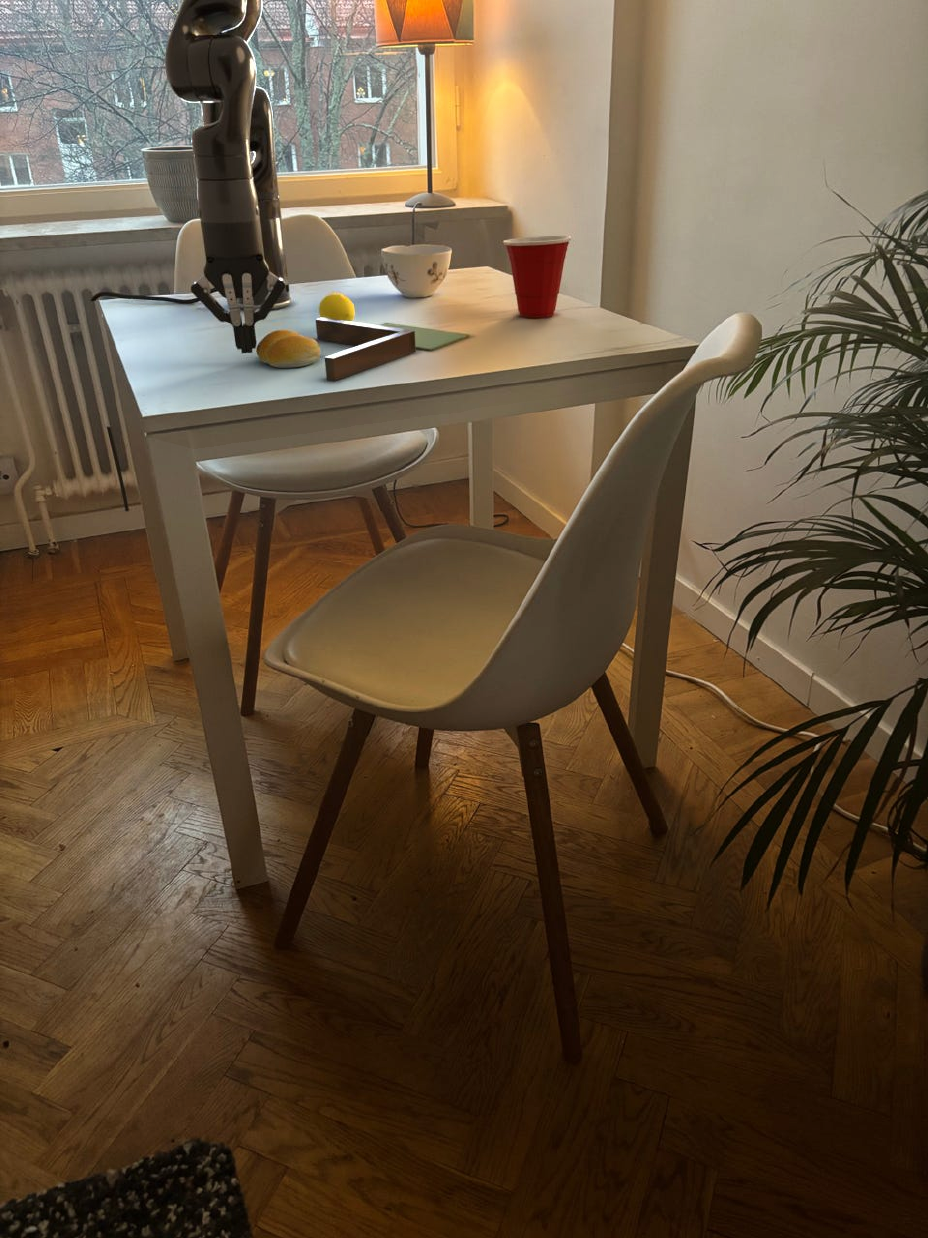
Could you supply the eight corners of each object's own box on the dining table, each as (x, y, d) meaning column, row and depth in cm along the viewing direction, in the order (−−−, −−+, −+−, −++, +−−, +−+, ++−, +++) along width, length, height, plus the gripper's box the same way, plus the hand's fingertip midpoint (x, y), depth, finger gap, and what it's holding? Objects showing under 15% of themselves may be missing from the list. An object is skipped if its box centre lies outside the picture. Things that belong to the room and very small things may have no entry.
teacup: (467, 294, 169) (466, 247, 165) (413, 304, 162) (410, 255, 158) (414, 283, 179) (412, 238, 175) (361, 293, 172) (358, 246, 168)
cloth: (345, 337, 142) (345, 335, 142) (386, 324, 149) (386, 322, 149) (430, 350, 134) (430, 348, 134) (469, 336, 141) (469, 334, 141)
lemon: (364, 329, 146) (362, 293, 144) (335, 335, 143) (332, 298, 141) (339, 322, 151) (336, 287, 148) (311, 327, 148) (307, 292, 145)
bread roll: (282, 372, 125) (279, 342, 123) (249, 360, 131) (245, 331, 129) (334, 361, 130) (331, 332, 128) (299, 349, 136) (296, 321, 134)
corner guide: (239, 363, 130) (236, 341, 128) (323, 337, 142) (322, 317, 141) (334, 381, 121) (332, 358, 120) (415, 351, 134) (414, 330, 132)
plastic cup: (542, 304, 160) (544, 229, 154) (582, 315, 152) (585, 236, 146) (489, 313, 155) (489, 235, 149) (528, 324, 147) (529, 243, 141)
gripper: (281, 211, 125) (294, 343, 133) (179, 214, 123) (199, 348, 131) (282, 218, 118) (295, 355, 127) (174, 221, 116) (196, 361, 125)
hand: (246, 351), depth 129 cm, fingers closed
